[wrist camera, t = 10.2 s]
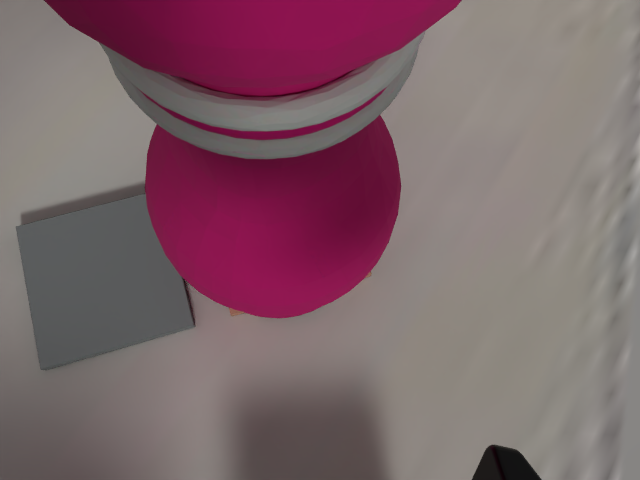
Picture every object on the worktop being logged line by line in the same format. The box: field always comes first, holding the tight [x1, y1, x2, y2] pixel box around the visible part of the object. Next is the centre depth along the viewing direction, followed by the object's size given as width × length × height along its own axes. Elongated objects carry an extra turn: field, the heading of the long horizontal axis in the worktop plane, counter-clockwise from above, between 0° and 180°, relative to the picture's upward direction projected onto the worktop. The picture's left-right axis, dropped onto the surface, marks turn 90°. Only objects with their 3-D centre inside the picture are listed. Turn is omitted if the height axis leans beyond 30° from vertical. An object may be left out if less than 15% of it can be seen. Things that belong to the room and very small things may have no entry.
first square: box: [16, 193, 195, 370], centre depth 20 cm, size 5×5×1 cm
